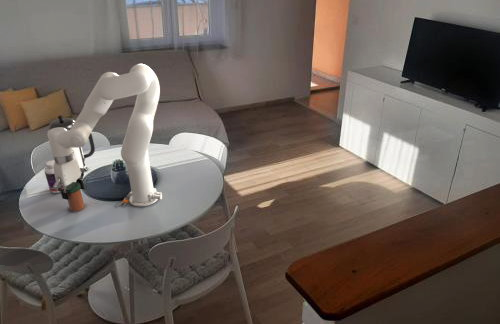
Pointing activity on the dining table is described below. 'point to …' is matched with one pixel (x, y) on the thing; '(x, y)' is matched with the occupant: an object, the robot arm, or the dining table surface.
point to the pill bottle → (51, 176)
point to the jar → (75, 201)
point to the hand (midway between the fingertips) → (73, 193)
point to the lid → (73, 187)
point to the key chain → (126, 198)
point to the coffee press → (78, 152)
